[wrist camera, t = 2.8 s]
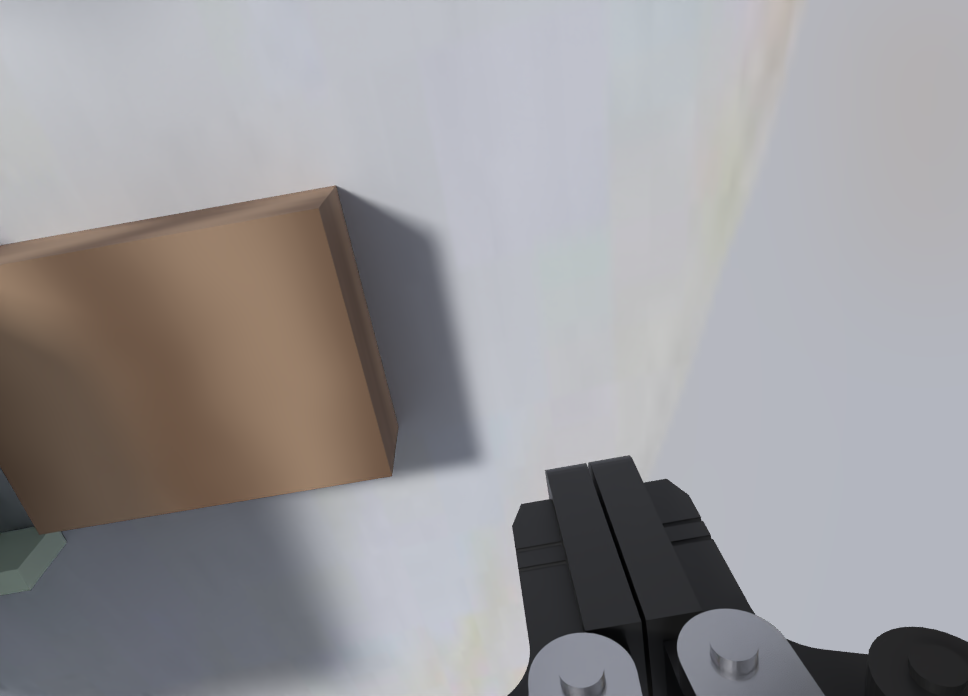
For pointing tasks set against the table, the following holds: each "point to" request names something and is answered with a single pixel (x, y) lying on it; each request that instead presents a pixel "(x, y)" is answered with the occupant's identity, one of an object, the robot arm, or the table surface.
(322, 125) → the table surface
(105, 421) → the brown block
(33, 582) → the shelf
